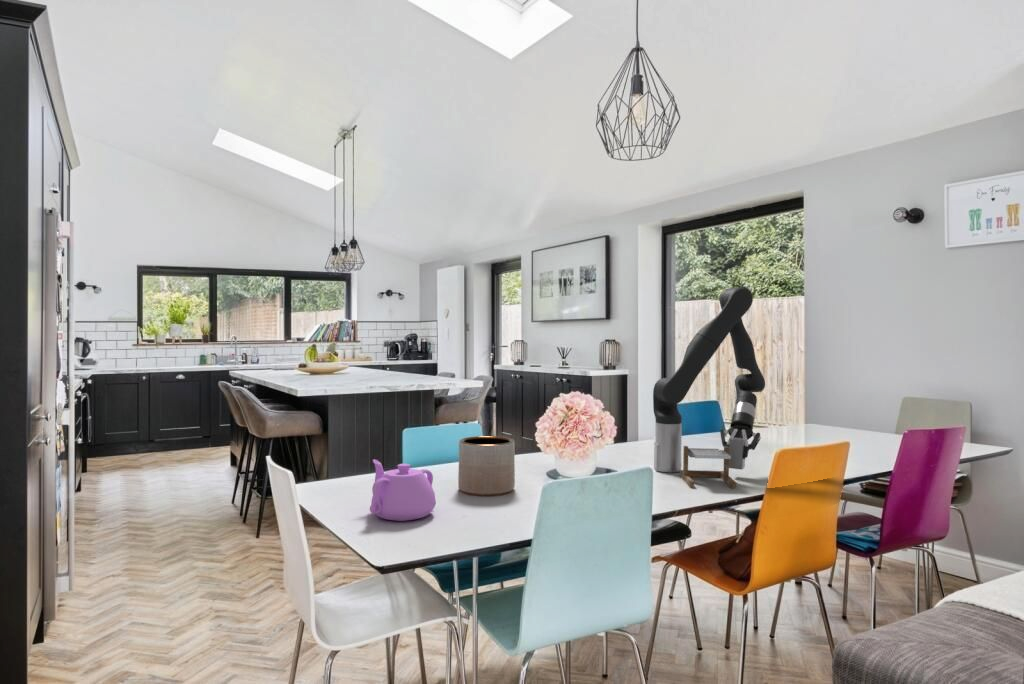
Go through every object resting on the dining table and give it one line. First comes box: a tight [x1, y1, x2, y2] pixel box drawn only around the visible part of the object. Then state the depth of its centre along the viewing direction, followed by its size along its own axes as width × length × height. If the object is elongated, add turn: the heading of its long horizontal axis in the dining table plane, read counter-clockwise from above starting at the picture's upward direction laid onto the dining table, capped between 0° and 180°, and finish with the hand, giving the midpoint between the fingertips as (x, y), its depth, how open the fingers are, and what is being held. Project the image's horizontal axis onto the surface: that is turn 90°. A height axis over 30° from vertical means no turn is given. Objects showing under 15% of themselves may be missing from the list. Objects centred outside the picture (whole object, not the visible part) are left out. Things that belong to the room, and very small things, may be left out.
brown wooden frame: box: [679, 445, 738, 490], centre depth 221 cm, size 18×15×12 cm
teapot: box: [369, 459, 437, 522], centre depth 180 cm, size 22×22×14 cm
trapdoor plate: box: [688, 447, 731, 460], centre depth 220 cm, size 15×11×3 cm
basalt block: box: [728, 437, 746, 471], centre depth 228 cm, size 4×4×10 cm
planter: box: [457, 435, 516, 497], centre depth 208 cm, size 18×18×16 cm
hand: (736, 456), depth 227 cm, fingers closed on basalt block, 4 cm apart
